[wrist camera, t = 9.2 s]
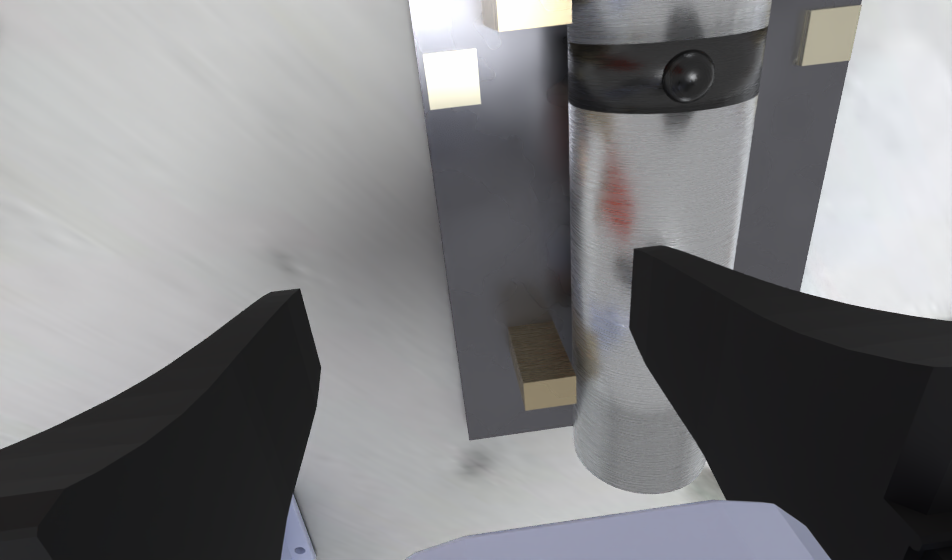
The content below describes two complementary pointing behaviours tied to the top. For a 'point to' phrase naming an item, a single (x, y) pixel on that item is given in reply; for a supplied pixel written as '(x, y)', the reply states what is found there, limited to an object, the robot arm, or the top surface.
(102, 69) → the top surface
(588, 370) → the silver long rounded block
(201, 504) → the robot arm
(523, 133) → the grey plate with pegs
